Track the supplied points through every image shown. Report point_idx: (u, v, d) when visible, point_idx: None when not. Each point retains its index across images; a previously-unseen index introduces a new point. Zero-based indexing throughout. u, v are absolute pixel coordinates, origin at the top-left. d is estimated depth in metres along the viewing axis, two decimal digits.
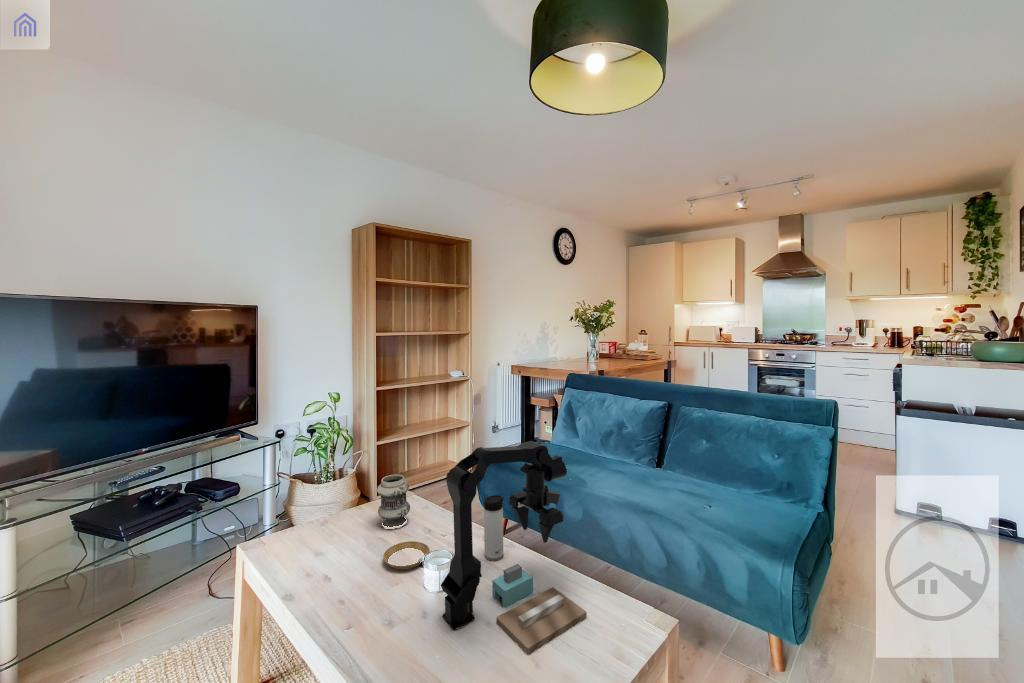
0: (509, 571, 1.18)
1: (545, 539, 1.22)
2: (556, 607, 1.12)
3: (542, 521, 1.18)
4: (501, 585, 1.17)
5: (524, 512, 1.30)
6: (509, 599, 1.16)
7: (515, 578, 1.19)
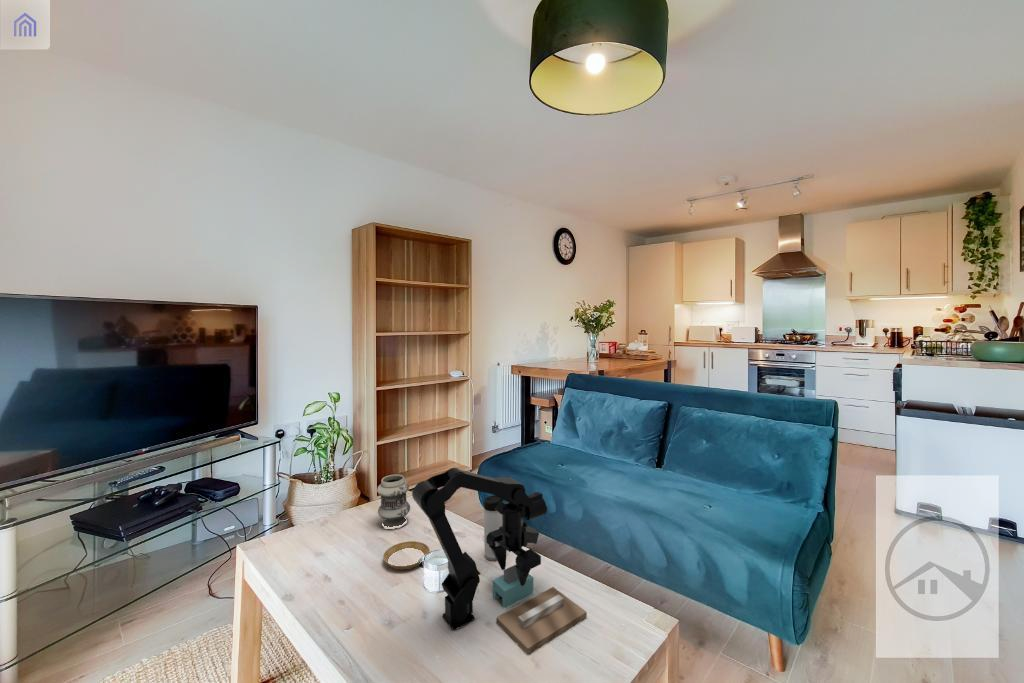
0: (509, 571, 1.18)
1: (522, 582, 1.16)
2: (556, 607, 1.12)
3: (518, 565, 1.12)
4: (501, 585, 1.17)
5: (502, 551, 1.23)
6: (509, 599, 1.16)
7: (515, 578, 1.19)
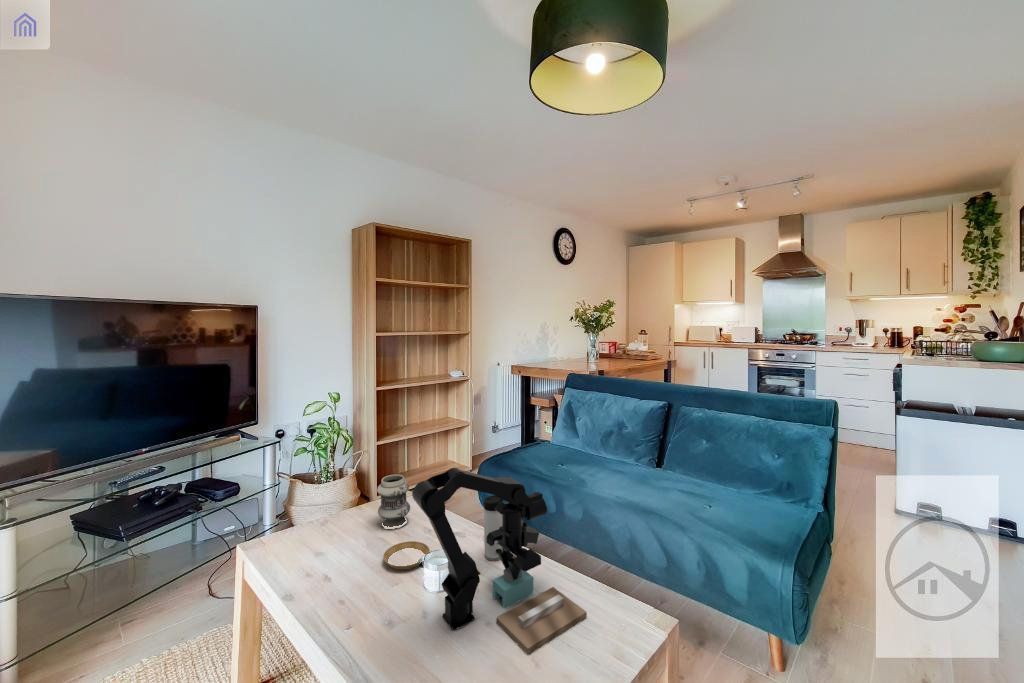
0: (509, 571, 1.18)
1: (515, 576, 1.18)
2: (556, 607, 1.12)
3: (518, 565, 1.12)
4: (501, 584, 1.17)
5: (509, 556, 1.21)
6: (509, 599, 1.16)
7: None
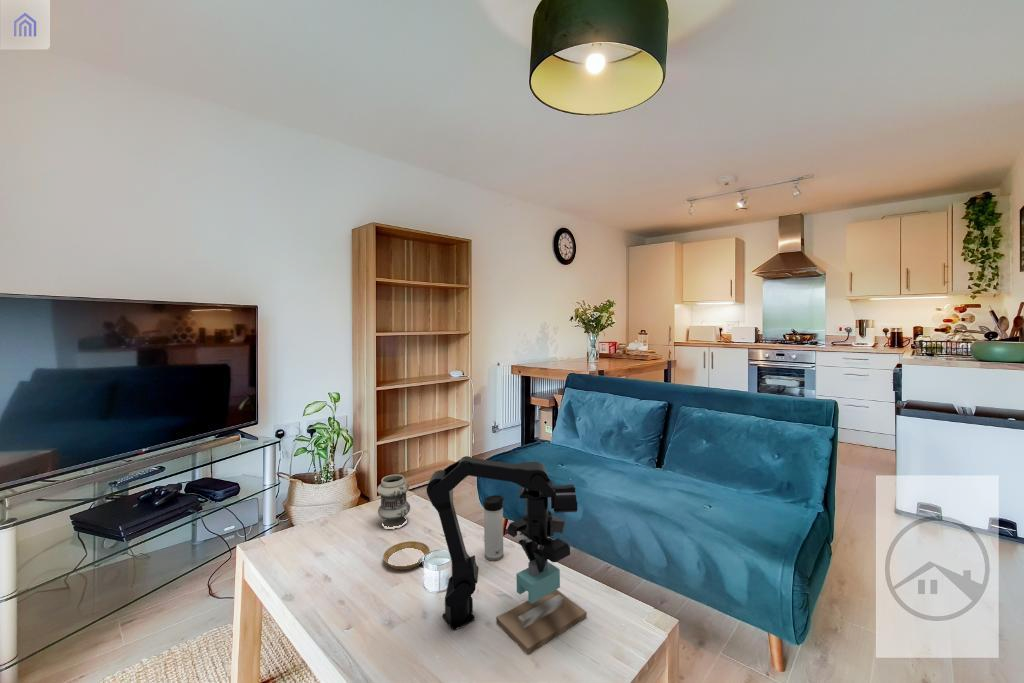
0: (534, 563, 1.10)
1: (541, 569, 1.09)
2: (556, 607, 1.12)
3: (546, 556, 1.03)
4: (526, 578, 1.08)
5: (533, 548, 1.12)
6: (536, 593, 1.07)
7: None
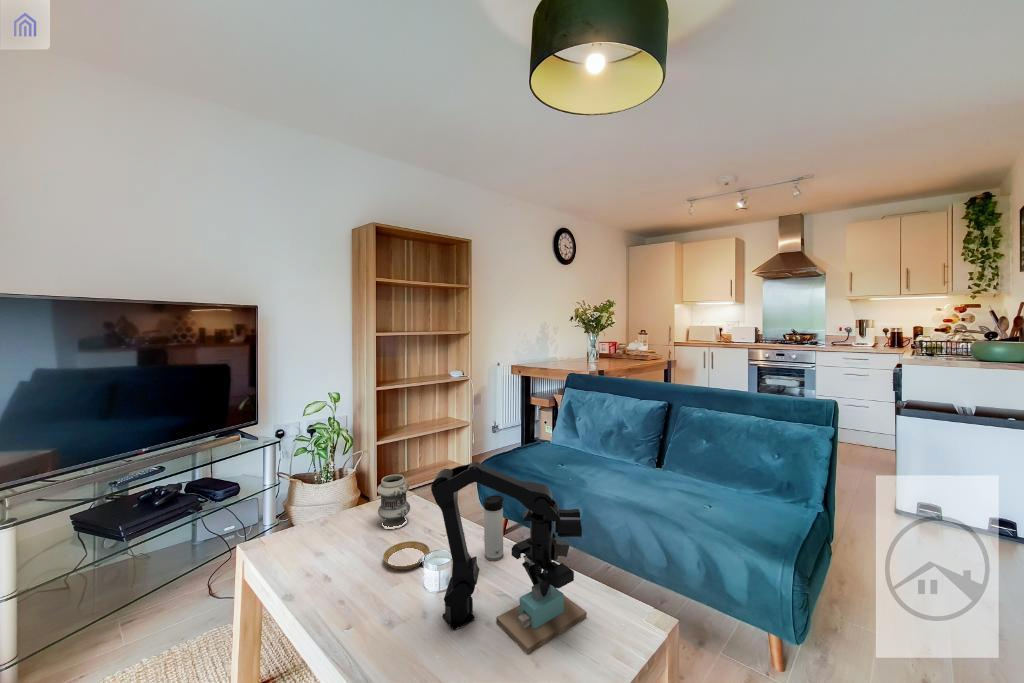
0: (538, 588, 1.08)
1: (544, 593, 1.08)
2: None
3: (550, 581, 1.02)
4: (529, 603, 1.07)
5: (537, 571, 1.11)
6: (539, 619, 1.06)
7: None
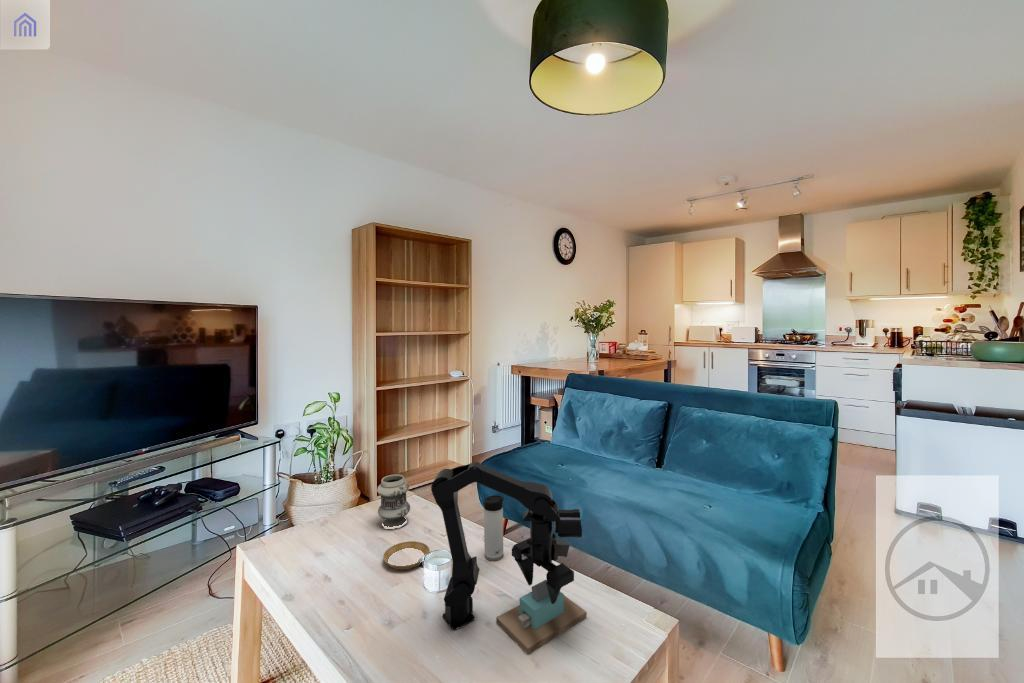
0: (538, 588, 1.08)
1: (553, 600, 1.06)
2: None
3: (550, 581, 1.02)
4: (529, 603, 1.07)
5: (529, 565, 1.13)
6: (539, 619, 1.06)
7: (544, 595, 1.09)
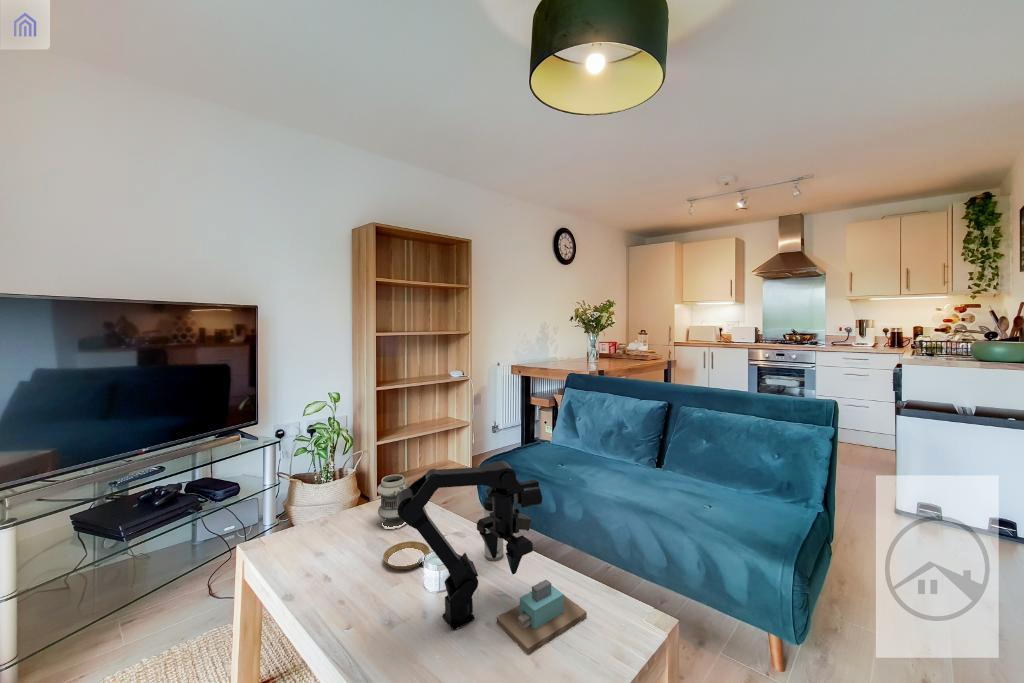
0: (538, 588, 1.08)
1: (513, 570, 1.10)
2: None
3: (509, 552, 1.07)
4: (529, 603, 1.07)
5: (493, 539, 1.18)
6: (539, 619, 1.06)
7: (544, 595, 1.09)
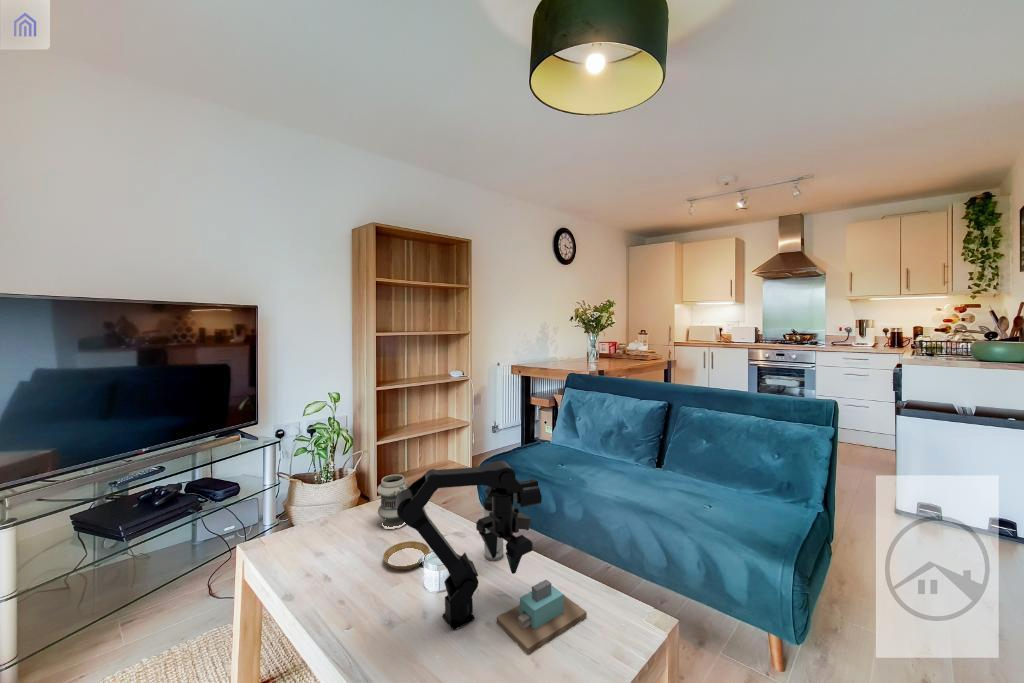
0: (538, 588, 1.08)
1: (513, 570, 1.10)
2: None
3: (509, 551, 1.07)
4: (529, 603, 1.07)
5: (492, 538, 1.18)
6: (539, 619, 1.06)
7: (544, 595, 1.09)
